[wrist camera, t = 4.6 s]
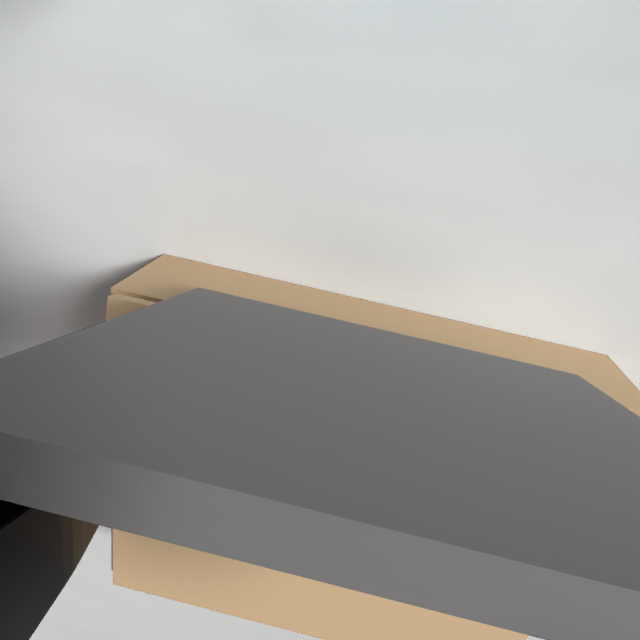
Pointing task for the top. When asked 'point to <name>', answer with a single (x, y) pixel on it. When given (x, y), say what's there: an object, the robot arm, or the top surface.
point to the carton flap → (337, 458)
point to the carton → (294, 591)
